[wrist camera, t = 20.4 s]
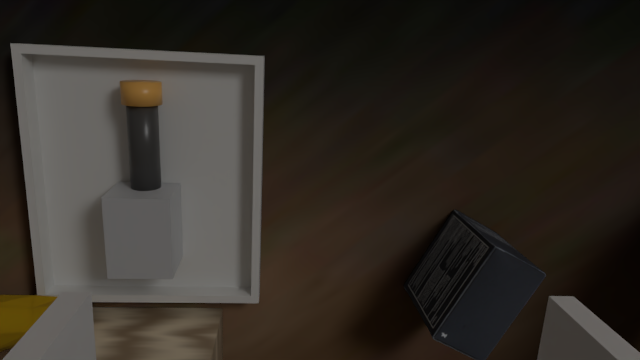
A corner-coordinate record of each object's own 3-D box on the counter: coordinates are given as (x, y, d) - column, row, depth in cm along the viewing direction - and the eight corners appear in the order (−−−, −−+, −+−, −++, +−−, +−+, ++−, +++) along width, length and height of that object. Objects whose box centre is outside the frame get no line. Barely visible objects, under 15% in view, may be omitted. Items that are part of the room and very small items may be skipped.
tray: (264, 55, 47) (263, 56, 45) (259, 291, 54) (258, 303, 51) (24, 43, 45) (10, 43, 43) (49, 289, 52) (37, 301, 50)
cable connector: (178, 81, 47) (165, 87, 42) (183, 254, 52) (172, 279, 47) (113, 78, 46) (92, 84, 41) (124, 254, 51) (107, 278, 46)
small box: (448, 310, 56) (485, 368, 46) (400, 286, 55) (428, 340, 45) (501, 234, 54) (551, 277, 44) (453, 207, 53) (494, 244, 43)
